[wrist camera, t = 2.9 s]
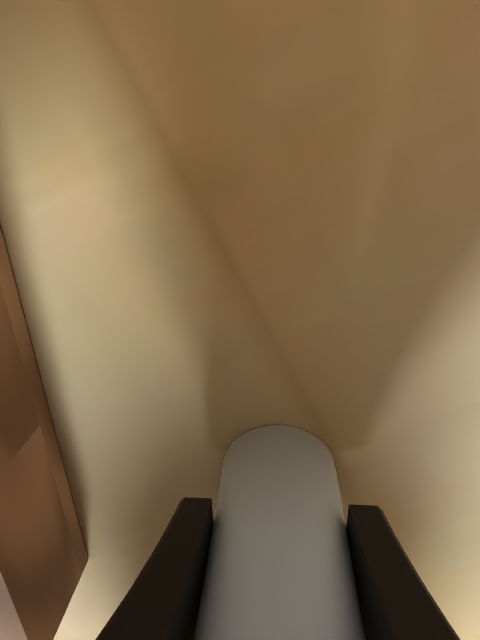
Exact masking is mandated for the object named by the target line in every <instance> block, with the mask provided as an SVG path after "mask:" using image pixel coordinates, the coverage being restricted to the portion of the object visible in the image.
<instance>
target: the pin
mask: <svg viewBox="0 0 480 640" xmlns="http://www.w3.org/2000/svg"><path fill="white" fill-rule="evenodd" d="M194 640H366V639H365V633H364V628H363V622H362V616H361V610H360V605H359V599H358V593H357V587H356V581H355V576H354V570H353V564H352V558H351V553H350V547H349V541H348V535H347V530H346V524H345V518H344V512H343V506H342V501H341V495H340V489H339V483H338V477H337V472H336V466H335V461H334V458H333V455H332V453H331V452H330V450H329V448H328V447H327V446H326V445H325V444H324V443H323V442H322V441H321V440H320V439H319V438H317V437H316V436H315V435H313V434H311V433H309V432H307V431H305V430H303V429H299V428H296V427H292V426H286V425H269V426H262V427H258V428H255V429H252V430H250V431H248V432H246V433H244V434H242V435H241V436H239V437H238V438H237V439H236V440H235V441H233V443H232V444H231V445H230V446H229V448H228V449H227V451H226V453H225V456H224V460H223V466H222V472H221V478H220V484H219V490H218V496H217V503H216V509H215V515H214V521H213V528H212V534H211V540H210V546H209V553H208V559H207V565H206V571H205V577H204V583H203V589H202V595H201V601H200V607H199V614H198V620H197V626H196V632H195V638H194Z"/></svg>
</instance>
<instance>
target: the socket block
mask: <svg viewBox="0 0 480 640" xmlns="http://www.w3.org/2000/svg"><path fill="white" fill-rule="evenodd" d="M87 561H88V557H87V553H86V549H85V546H84V542H83V538H82V534H81V530H80V527H79V523H78V519H77V515H76V511H75V508H74V504H73V500H72V496H71V492H70V489H69V485H68V481H67V477H66V473H65V470H64V466H63V462H62V458H61V455H60V451H59V447H58V443H57V439H56V436H55V432H54V428H53V424H52V420H51V417H50V413H49V409H48V405H47V401H46V398H45V394H44V390H43V386H42V382H41V379H40V375H39V371H38V367H37V363H36V360H35V356H34V352H33V348H32V345H31V341H30V337H29V333H28V329H27V326H26V322H25V318H24V314H23V310H22V307H21V303H20V299H19V295H18V291H17V288H16V284H15V280H14V276H13V272H12V269H11V265H10V261H9V257H8V254H7V250H6V246H5V242H4V238H3V235H2V231H1V227H0V640H53V639H54V636H55V634H56V632H57V630H58V627H59V625H60V623H61V620H62V618H63V616H64V614H65V611H66V609H67V607H68V605H69V602H70V600H71V598H72V595H73V593H74V591H75V589H76V586H77V584H78V582H79V579H80V577H81V575H82V573H83V570H84V568H85V566H86V564H87Z"/></svg>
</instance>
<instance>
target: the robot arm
mask: <svg viewBox="0 0 480 640" xmlns="http://www.w3.org/2000/svg"><path fill="white" fill-rule="evenodd" d="M212 528H213V511H212V499H209V498H186V497H185V498H184V499H182V500H181V501H180V503H179V505H178V507H177V509H176V511H175V513H174V515H173V517H172V519H171V521H170V523H169V525H168V526H167V528H166V530H165V532H164V534H163V536H162V537H161V539H160V541H159V543H158V544H157V546H156V548H155V549H154V551H153V553H152V555H151V556H150V558H149V560H148V561H147V563H146V564H145V566H144V568H143V569H142V571H141V572H140V574H139V576H138V577H137V579H136V580H135V582H134V584H133V585H132V587H131V588H130V590H129V592H128V593H127V595H126V596H125V598H124V599H123V601H122V602H121V604H120V605H119V606H118V608H117V609H116V611H115V612H114V614H113V615H112V617H111V618H110V620H109V621H108V622H107V624H106V625H105V627H104V628H103V630H102V631H101V633H100V634H99V635H98V637H97V638H96V640H194V638H195V632H196V626H197V620H198V614H199V607H200V601H201V595H202V589H203V583H204V577H205V571H206V565H207V559H208V553H209V546H210V540H211V534H212ZM346 530H347V535H348V541H349V547H350V553H351V558H352V564H353V570H354V576H355V581H356V587H357V593H358V599H359V605H360V610H361V616H362V622H363V628H364V633H365V639H366V640H460V639H459V637H458V636H457V634H456V633H455V631H454V630H453V628H452V627H451V625H450V624H449V622H448V621H447V619H446V618H445V616H444V615H443V613H442V611H441V610H440V608H439V607H438V605H437V604H436V602H435V601H434V599H433V597H432V596H431V594H430V593H429V591H428V590H427V588H426V587H425V585H424V583H423V582H422V580H421V579H420V577H419V575H418V574H417V572H416V570H415V569H414V567H413V565H412V564H411V562H410V560H409V559H408V557H407V555H406V553H405V552H404V550H403V548H402V547H401V545H400V543H399V541H398V539H397V538H396V536H395V534H394V532H393V530H392V528H391V527H390V525H389V523H388V521H387V519H386V517H385V515H384V513H383V511H382V510H381V509H380V508H379V507H378V506H369V505H349V508H348V517H347V526H346Z"/></svg>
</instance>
